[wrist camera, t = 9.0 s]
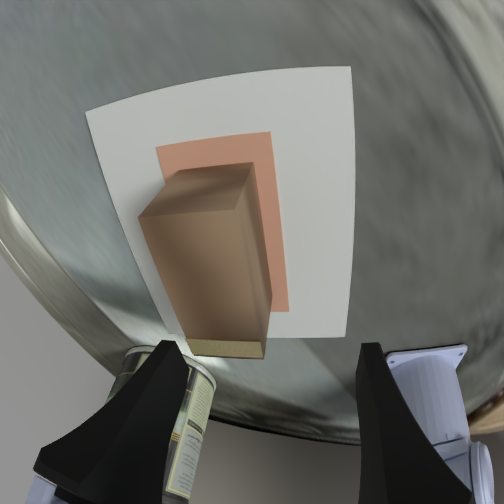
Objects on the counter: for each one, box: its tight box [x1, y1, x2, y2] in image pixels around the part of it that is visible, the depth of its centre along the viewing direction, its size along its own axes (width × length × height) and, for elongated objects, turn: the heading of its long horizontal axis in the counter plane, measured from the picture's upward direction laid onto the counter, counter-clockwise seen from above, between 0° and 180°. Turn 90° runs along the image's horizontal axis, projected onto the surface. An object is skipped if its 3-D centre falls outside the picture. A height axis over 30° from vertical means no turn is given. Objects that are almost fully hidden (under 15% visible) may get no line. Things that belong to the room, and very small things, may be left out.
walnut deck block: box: [138, 162, 272, 359], centre depth 16 cm, size 4×9×5 cm, turn 8°
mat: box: [85, 66, 355, 338], centre depth 18 cm, size 18×14×1 cm
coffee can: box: [105, 346, 216, 504], centre depth 25 cm, size 10×10×14 cm
